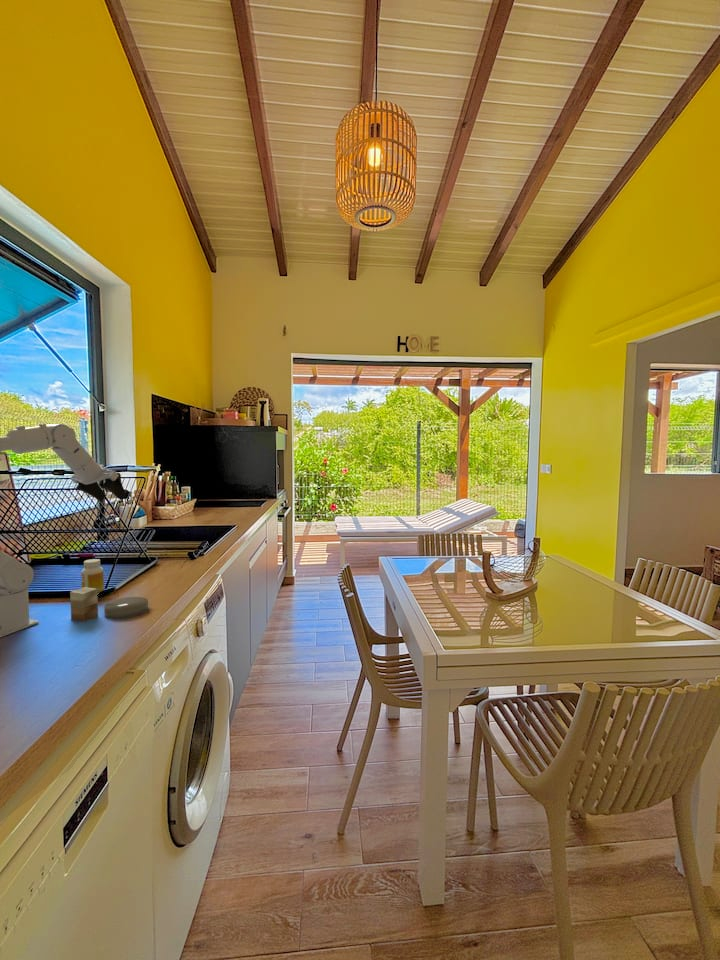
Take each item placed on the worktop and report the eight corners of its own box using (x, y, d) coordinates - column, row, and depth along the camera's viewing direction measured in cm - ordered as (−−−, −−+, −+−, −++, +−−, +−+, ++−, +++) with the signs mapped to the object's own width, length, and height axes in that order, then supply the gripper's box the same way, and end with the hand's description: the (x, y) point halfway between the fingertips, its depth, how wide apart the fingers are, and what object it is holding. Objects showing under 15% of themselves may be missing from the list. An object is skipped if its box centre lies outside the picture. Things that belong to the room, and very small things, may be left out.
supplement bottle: (108, 591, 130) (107, 558, 129) (95, 597, 124) (94, 563, 124) (90, 590, 130) (89, 557, 130) (77, 596, 125) (76, 562, 124)
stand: (126, 620, 109) (126, 612, 109) (94, 615, 112) (94, 607, 112) (156, 606, 118) (156, 599, 118) (126, 602, 121) (126, 594, 121)
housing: (83, 622, 108) (82, 593, 107) (71, 619, 109) (70, 591, 108) (98, 616, 111) (97, 588, 111) (85, 614, 113) (84, 587, 112)
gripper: (110, 450, 117) (141, 486, 126) (70, 454, 122) (102, 488, 131) (94, 468, 113) (127, 505, 121) (53, 472, 117) (87, 506, 126)
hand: (113, 497), depth 126 cm, fingers open, 7 cm apart
